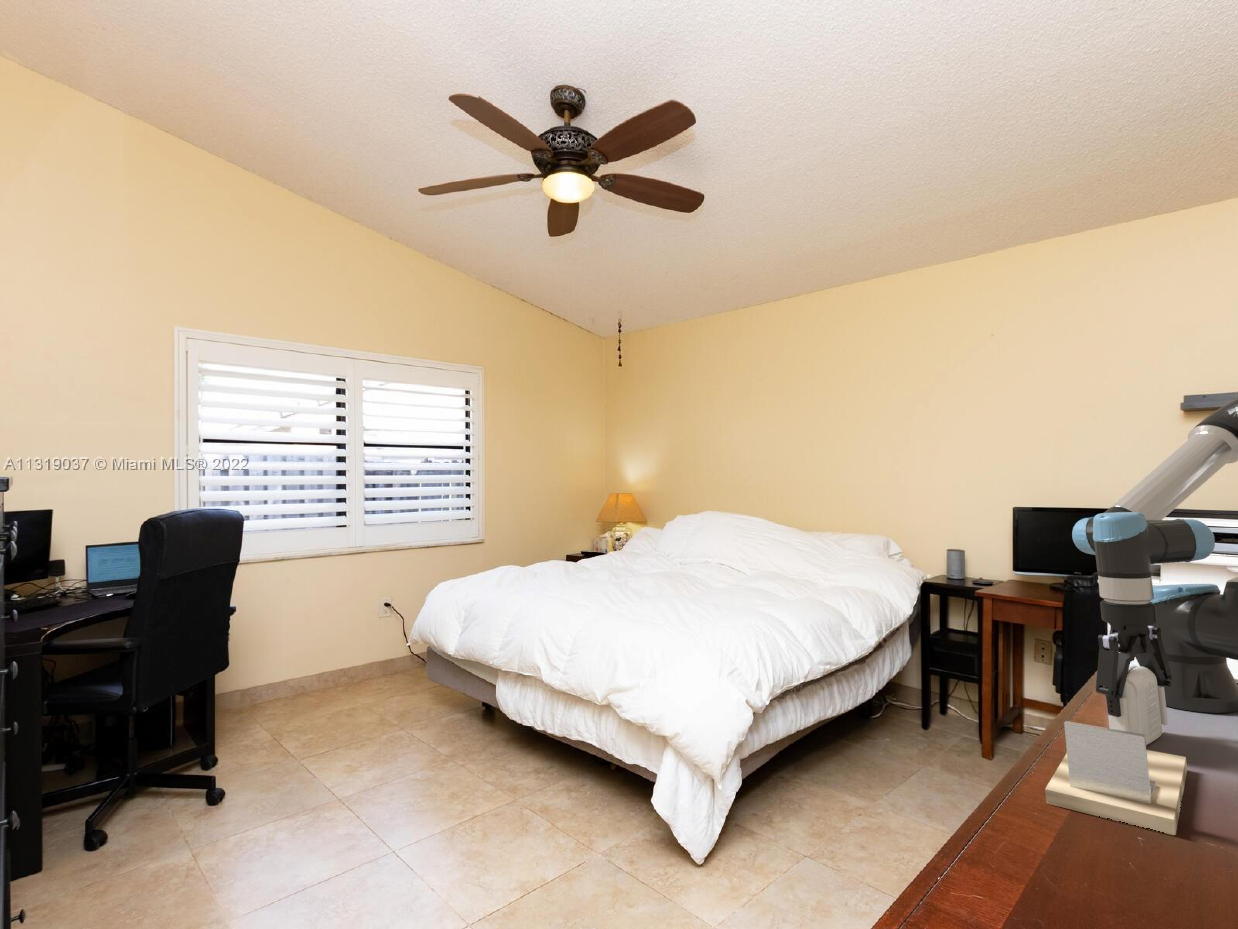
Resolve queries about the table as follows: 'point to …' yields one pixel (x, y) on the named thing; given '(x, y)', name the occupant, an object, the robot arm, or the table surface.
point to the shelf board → (1155, 816)
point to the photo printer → (1143, 703)
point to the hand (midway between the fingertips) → (1139, 728)
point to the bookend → (1108, 762)
